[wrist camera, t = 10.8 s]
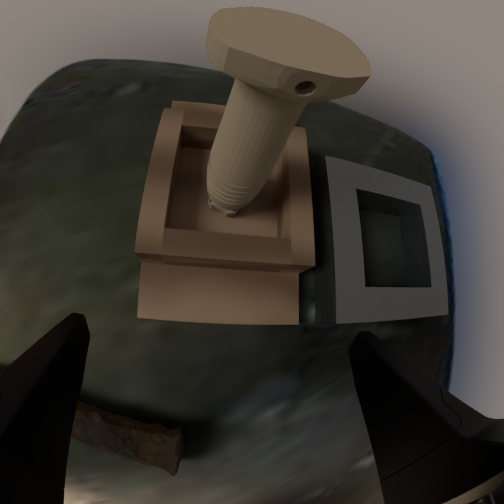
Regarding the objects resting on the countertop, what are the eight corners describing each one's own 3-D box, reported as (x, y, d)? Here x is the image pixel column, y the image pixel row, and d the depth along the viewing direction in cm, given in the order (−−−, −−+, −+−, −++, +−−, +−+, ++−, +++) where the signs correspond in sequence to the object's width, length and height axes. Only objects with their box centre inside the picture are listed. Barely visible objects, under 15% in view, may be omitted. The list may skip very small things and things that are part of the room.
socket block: (425, 317, 25) (448, 314, 22) (315, 324, 22) (336, 323, 19) (411, 198, 29) (430, 186, 25) (309, 174, 26) (325, 155, 22)
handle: (184, 174, 21) (207, 1, 7) (260, 173, 23) (344, 28, 9) (188, 230, 20) (212, 59, 6) (269, 225, 22) (388, 93, 8)
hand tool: (186, 421, 18) (187, 444, 14) (177, 460, 17) (177, 488, 12) (-4, 337, 15) (-34, 336, 11) (-8, 375, 14) (-36, 380, 10)
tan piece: (292, 324, 22) (316, 324, 18) (140, 317, 19) (128, 316, 15) (287, 124, 27) (301, 98, 23) (172, 108, 24) (173, 78, 20)
